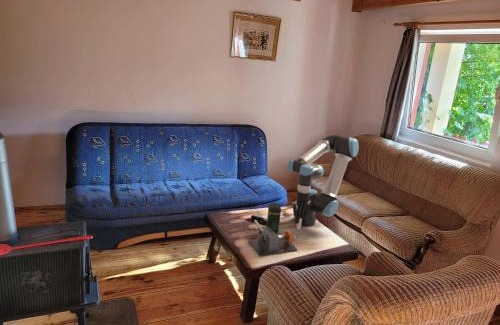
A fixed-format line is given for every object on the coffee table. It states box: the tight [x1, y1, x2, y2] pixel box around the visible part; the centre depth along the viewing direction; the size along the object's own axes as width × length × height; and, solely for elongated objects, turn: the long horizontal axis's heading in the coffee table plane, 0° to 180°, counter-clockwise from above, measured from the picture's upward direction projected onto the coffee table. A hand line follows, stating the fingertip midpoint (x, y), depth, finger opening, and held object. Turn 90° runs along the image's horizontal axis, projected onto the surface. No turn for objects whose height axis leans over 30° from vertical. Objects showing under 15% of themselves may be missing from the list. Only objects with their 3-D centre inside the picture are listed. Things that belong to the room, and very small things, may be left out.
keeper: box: [254, 219, 265, 234], centre depth 203 cm, size 10×6×1 cm
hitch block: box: [248, 226, 298, 258], centre depth 209 cm, size 24×17×12 cm
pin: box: [277, 229, 294, 244], centre depth 210 cm, size 15×6×6 cm, turn 113°
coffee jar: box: [265, 202, 282, 235], centre depth 226 cm, size 10×8×19 cm
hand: (298, 227), depth 214 cm, fingers closed
